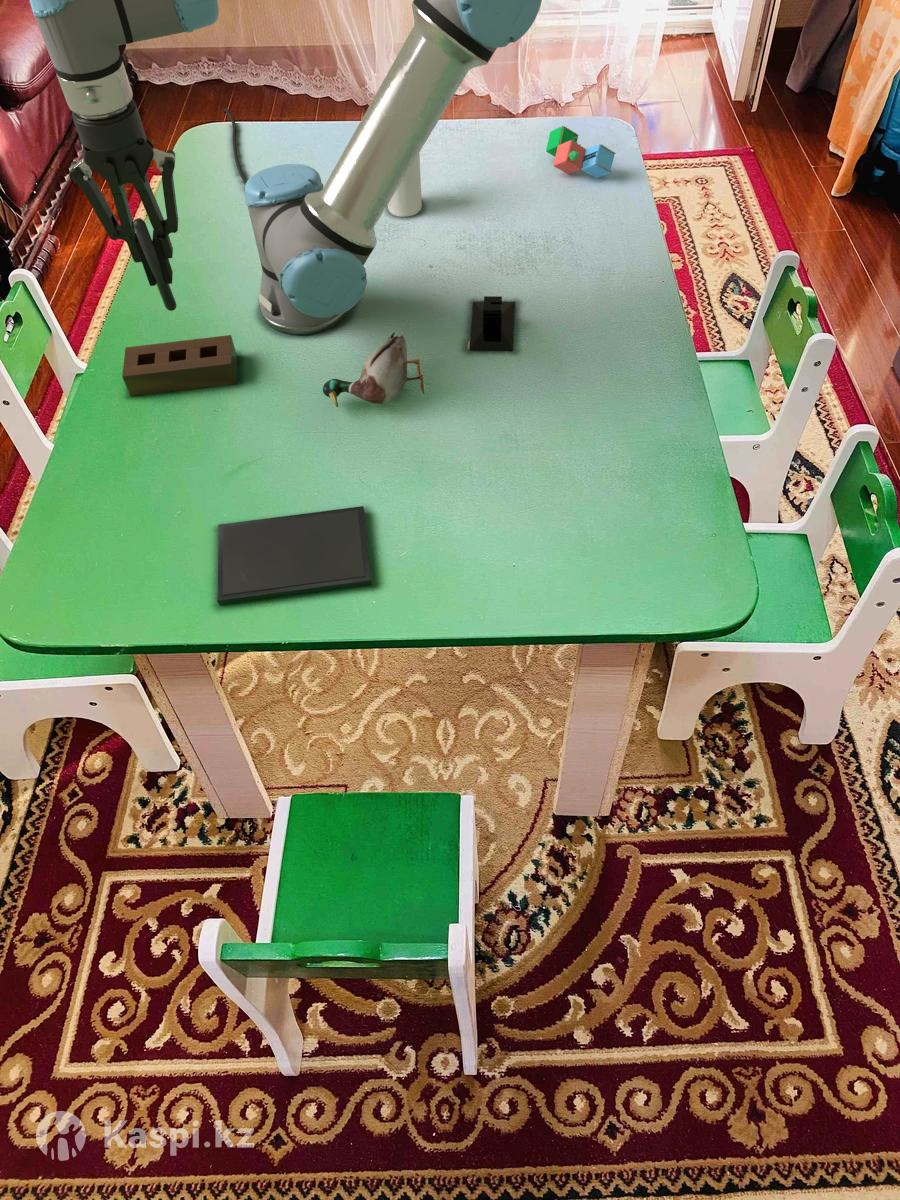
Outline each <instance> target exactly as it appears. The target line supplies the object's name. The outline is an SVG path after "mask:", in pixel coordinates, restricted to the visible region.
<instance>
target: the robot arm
mask: <svg viewBox="0 0 900 1200" xmlns="http://www.w3.org/2000/svg"><path fill="white" fill-rule="evenodd" d="M218 2H219V1H218V0H29V4H30V7H31V10H32V13H33V16H34V19H35V22H36V24H37V27H38V29H39V32H40V35H41V38H42V39H43V42H44V45H45V48H46V50H47V52H48V55H49V58H50V60H51V62H52V66H53V68H54V71H55V75H56V78H57V80H58V83H59V86H60V88H61V91H62V93H63V95H64V99H65V101H66V104H67V106H68V108H69V110H70V111H71V112H72V113H71V118H72V120H73V123H74V126H75V129H76V132H77V134H78V137H79V140H80V142H81V145H82V147H83V153H82V158H81V159H79V160H78V161H76V160H74V161H72V162H71V163H70V168H69V174H68V177H69V178H70V179H71V180H72V181H73V182H74V183H75V184H76V185H77V186H78V187H79V188H80V189H81V190H82V192H83V194H84V195H85V197H86V199H87V201H88V202H89V204H90V206H91V207H92V209H93V211H94V213H95V215H96V216H97V218H98V220H99V221H100V223H101V225H102V227H103V228H104V230H105V232H106V234H107V236H108V237H109V238H110V240H112V241H118V240H122V241H124V242H125V243H126V244H127V247H128V249H129V252H130V256H131V258H132V261H134V263H141V264H142V267H143V269H144V272H145V275H146V279H147V281H148V284H149V286H150V287H154V286H156V287H157V285H156V282H155V280H154V277H153V275H152V272H151V270H150V267H149V265H148V262H147V260H146V257H145V255H144V252H143V250H142V247H141V245H140V242H139V240H138V237H137V235H136V232H135V230H134V227H133V221H134V220H133V216H132V211H131V208H130V204H129V199H128V196H127V192H126V188H125V185H126V184H132V185H133V186H134V189H135V191H136V193H137V194H138V196H139V198H140V200H141V203H142V206H143V208H144V210H145V212H146V216H147V217H148V219H149V222H150V224H151V227H152V238H151V239H152V242H153V244H154V247H155V250H156V253H157V256H158V259H159V263H160V266H161V269H162V272H163V275H164V278H165V281H166V284H169V285H172V284H173V275H174V274H173V273H174V272H173V269H172V268H173V267H172V266H171V262H170V259H173V256H174V247H173V244H172V240H171V238H170V234H176V233H178V230H179V213H178V206H177V197H176V190H175V189H176V188H175V181H174V180H175V179H174V172H175V171H174V170H175V167H176V152H175V151H174V150H172V149H167V150H166V151H163V150H160V149H157V148H155V147H154V144H153V142H151V140H150V139H149V138H148V136H147V134H146V132H145V128H144V125H143V122H142V119H141V115H140V112H139V110H138V106H137V103H136V101H135V100H134V98H133V97H134V93H133V89H132V86H131V82H130V80H129V76H128V74H127V70H126V67H125V64H124V61H123V57H122V55H121V52H120V49H119V48H120V47H119V46H122V45H128V44H133V43H136V42H137V43H138V42H143V41H147V40H153V39H157V38H162V37H167V36H168V37H169V36H173V35H177V34H183V33H193V32H194V31H196V30H199V29H202V28H206V27H209V26H212V25H214V24H215V23H216V22H217V21H218V18H219V14H220V12H219V11H220V9H219V3H218ZM542 2H543V0H413V1H412V3H411V9H412V13H413V14H412V15H413V26H412V28H411V31H410V32H409V33H408V36H407V37H406V39H405V41H404V42H403V45H402V46H401V48H400V50H399V52H398V54H397V56H396V58H395V59H394V61H393V63H392V65H391V66H390V68H389V70H388V72H387V74H386V75H385V77H384V78H383V80H382V83H381V84H380V86H379V88H378V90H377V91H376V93H375V95H374V96H373V98H372V100H371V102H370V104H369V106H368V107H367V109H366V111H365V112H364V114H363V116H362V118H361V120H360V122H359V124H358V125H357V127H356V129H355V130H354V133H353V134H352V136H351V138H350V140H349V141H348V143H347V145H346V147H345V148H344V151H343V152H342V154H341V156H340V157H339V159H338V161H337V163H336V165H335V166H334V168H333V170H332V172H331V173H330V175H329V177H328V178H327V180H326V182H325V184H323V182H322V178H321V175H320V173H319V172H318V171H317V170H316V169H315V168H314V167H312V166H308V165H305V164H297V163H285V164H278V165H273V166H269V167H267V168H264V169H262V170H260V171H258V172H256V173H254V174H253V175H251V176H250V177H249V178H248V179H247V178H246V176H245V174H244V171H243V169H242V166H241V162H240V159H239V155H238V147H237V124H236V121H235V118H234V117H233V115H232V113H231V111H230V110H229V109H228V108H224V109H223V113H224V114H226V115H227V116H228V118H229V120H230V122H231V125H232V148H233V149H232V150H233V156H234V161H235V166H236V169H237V171H238V173H239V176H240V178H241V180H242V182H243V184H244V196H245V202H244V203H245V205H246V206H247V209H248V215H249V218H250V223H251V227H252V231H253V236H254V240H255V245H256V248H257V254H258V257H259V261H260V267H261V270H262V271H261V279H260V289H259V293H258V294H259V296H258V303H259V305H258V306H259V310H260V314H261V317H262V319H263V321H264V322H265V324H266V325H267V326H268V327H270V328H271V329H274V330H276V331H278V332H280V333H283V334H287V335H288V334H289V335H312V334H316V333H320V332H323V331H326V330H328V329H330V328H333V327H335V326H336V325H338V324H339V323H340V322H341V321H343V320H344V319H345V318H346V317H347V315H348V314H349V312H350V310H351V309H352V308H354V307H355V306H356V304H358V302H359V301H361V299H362V298H363V295H364V294H365V291H366V288H367V283H368V279H367V270H366V267H365V264H366V262H367V261H368V259H369V257H370V256H371V254H372V253H373V251H374V249H375V248H376V246H377V243H378V240H377V237H376V232H375V226H376V225H377V223H378V221H379V220H380V218H381V217H382V215H383V213H384V211H385V210H386V208H388V203H389V202H390V200H391V198H392V197H393V195H394V193H395V192H396V190H397V188H398V187H399V185H400V183H401V182H402V180H403V179H404V177H405V175H406V174H407V172H408V170H409V169H410V167H411V165H412V164H413V162H414V160H415V159H416V157H417V155H418V154H419V155H420V152H421V150H422V149H423V147H424V146H425V144H426V142H427V141H428V139H429V137H430V136H431V134H432V132H433V131H434V129H435V127H436V126H437V124H438V123H439V121H440V119H441V118H442V116H443V114H444V112H445V111H446V109H447V107H448V106H449V104H450V103H451V101H452V99H453V98H454V96H455V94H456V93H457V91H458V89H459V87H460V86H461V85H462V83H463V81H464V79H465V78H466V76H467V74H468V73H469V71H470V70H472V69H473V68H477V67H482V66H485V65H488V64H489V62H490V60H491V59H492V57H493V56H494V53H495V52H496V50H497V49H498V48H505V47H507V46H508V45H509V44H511V43H513V44H514V43H516V42H518V41H519V40H520V39H522V38H523V36H525V34H526V33H527V32H528V31H529V30H530V29H531V27H532V25H533V23H535V21H536V19H537V16H538V13H539V12H540V9H541V6H542ZM152 161H154V162H155V164H156V165H155V166H156V168H157V170H158V171H159V172H161V184H162V190H163V192H162V193H163V199H164V205H165V206H164V207H165V214H166V219H165V218H164V216H163V213H162V211H161V208H160V206H159V204H158V202H157V198H156V197H155V194H154V191H153V189H152V186H151V184H150V182H149V178H148V172H149V169H150V166H151V164H152ZM93 171H94V172H95V173H96V174H98V175H99V176H100V177H101V178H103V179H104V180H105V181H106V182H107V183H108V186H109V190H110V193H111V195H112V198H113V203H114V206H115V209H116V213H117V217H118V219H117V218H116V216H115V214H114V212H113V210H112V209H111V207H110V205H109V203H108V201H107V200H106V197H105V196H104V194H103V193H102V190H101V189H100V187H99V185H98V183H97V182H96V180H95V177H94V176H93V175H92V174H93ZM118 220H119V222H118Z"/></svg>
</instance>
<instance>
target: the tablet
mask: <svg viewBox="0 0 900 1200" xmlns="http://www.w3.org/2000/svg"><path fill="white" fill-rule="evenodd" d="M365 513H366V512H365V506H363V505H362V506H354V507H346V508H338V509H337V508H336V509H331V510H322V511H313V512H307V513H297V514H289V515H283V516H274V517H268V518H258V519H252V520H244V521H236V522H227V523H219V524H217V563H216V564H217V565H216V567H217V569H216V577H217V578H216V602H217V605H218V606H227V605H232V604H233V605H234V604H241V603H242V604H243V603H248V602H249V603H250V602H258V601H263V600H272V599H279V598H289V597H294V596H302V595H303V596H304V595H311V594H317V593H325V592H332V591H341V590H347V589H355V588H363V587H364V588H365V587H370V586H373V578H372V567H371V559H370V550H369V549H370V548H369V540H368V532H367V522H366V514H365Z"/></svg>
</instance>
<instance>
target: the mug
mask: <svg viewBox="0 0 900 1200" xmlns="http://www.w3.org/2000/svg"><path fill="white" fill-rule="evenodd" d="M420 155H421V154H420V153H419V154H418V155H417V157H416V159H415V160H414V162H413V164H412V165H411V167H410V169H409V170H408V172H407V174H406V175H405V177H404V179H403V180H402V182H401V183H400V185H399V187H398V188H397V190H396V192H395V193H394V195H393V197H392V198H391V200H390V202H389V203H388V205H387V208H388V212H389V213H390V214H391V215H393V216H396V217H399V218H400V217H401V218H407V217H412V216H415V215H417V214H418V213H419V212H420V211H421V210H422V207H423V206H422V205H423V204H422V203H423V202H422V181H421V180H422V179H421V159H420V158H421V157H420Z"/></svg>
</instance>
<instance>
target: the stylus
mask: <svg viewBox="0 0 900 1200" xmlns="http://www.w3.org/2000/svg"><path fill="white" fill-rule="evenodd" d="M133 227H134V230H135V233H136V235H137V237H138V240H139V242H140V245H141V247H142V250H143V252H144V255H145V257H146V260H147V262H148V265H149V267H150V270H151V272H152V275H153V277H154V280H155V282H156V287H157V289H158V292H159V295H160V297H161V300H162V302H163V305H164V307H165V309H166V310H167V311H170V312H173V311H175V310H176V309H177V302H176V299H175V296H174V294H173V292H172V289H171V286H170V284H166V281H165V278H164V275H163V272H162V269H161V266H160V263H159V259H158V256H157V253H156V250H155V247H154V244H153V242H152V239H153V238H152V237H151V234H150V231H149V229H148V226H147V224H146V222H145V220H144V219H143V218H140V217H139V218H135V219H134V220H133Z"/></svg>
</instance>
